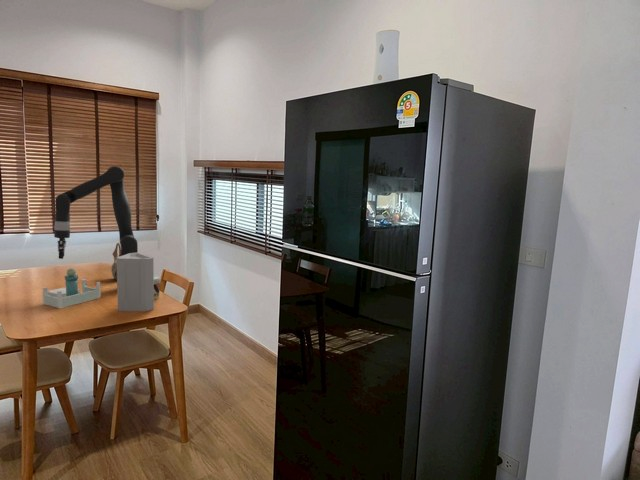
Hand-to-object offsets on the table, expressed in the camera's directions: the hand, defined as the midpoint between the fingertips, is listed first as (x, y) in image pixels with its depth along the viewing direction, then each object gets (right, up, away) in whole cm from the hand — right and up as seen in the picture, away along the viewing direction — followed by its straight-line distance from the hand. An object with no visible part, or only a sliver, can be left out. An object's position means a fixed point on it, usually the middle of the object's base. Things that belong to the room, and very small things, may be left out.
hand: (61, 257), depth 236 cm
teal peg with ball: (+10, -24, -7) cm, 27 cm away
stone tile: (-2, -21, +4) cm, 22 cm away
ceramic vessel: (+13, -17, +42) cm, 47 cm away
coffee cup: (+50, -24, +5) cm, 55 cm away
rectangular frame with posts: (+10, -24, -7) cm, 27 cm away
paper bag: (+47, -27, -14) cm, 56 cm away
